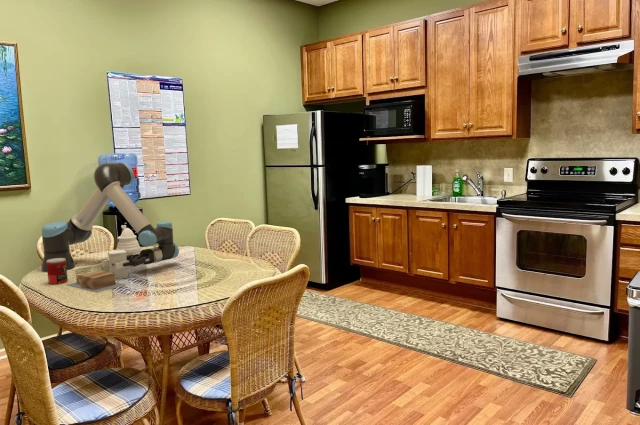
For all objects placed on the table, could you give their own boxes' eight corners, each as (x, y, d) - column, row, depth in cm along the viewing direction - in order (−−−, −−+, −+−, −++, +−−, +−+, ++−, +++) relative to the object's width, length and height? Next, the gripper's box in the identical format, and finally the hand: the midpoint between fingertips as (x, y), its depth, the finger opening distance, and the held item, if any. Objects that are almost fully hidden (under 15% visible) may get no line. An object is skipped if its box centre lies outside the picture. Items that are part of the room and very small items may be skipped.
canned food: (59, 286, 218) (57, 261, 217) (44, 285, 220) (42, 261, 219) (71, 281, 226) (69, 258, 224) (56, 281, 227) (54, 257, 226)
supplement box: (111, 280, 225) (109, 253, 224) (109, 277, 232) (107, 250, 230) (128, 278, 229) (126, 251, 227) (126, 275, 235) (124, 249, 234)
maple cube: (76, 283, 220) (75, 274, 219) (85, 281, 223) (84, 272, 222) (81, 284, 217) (80, 275, 217) (90, 282, 221) (89, 273, 220)
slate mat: (65, 286, 218) (65, 285, 217) (95, 279, 229) (95, 277, 229) (96, 294, 204) (96, 292, 204) (126, 286, 216) (126, 284, 215)
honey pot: (111, 259, 272) (109, 227, 269) (125, 254, 284) (123, 223, 282) (132, 260, 269) (130, 227, 267) (145, 255, 281) (143, 224, 279)
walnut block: (81, 286, 214) (80, 275, 213) (102, 281, 222) (101, 270, 222) (94, 289, 208) (93, 278, 208) (115, 284, 217) (114, 273, 216)
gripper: (136, 246, 250) (94, 254, 232) (164, 250, 237) (123, 259, 219) (137, 260, 251) (96, 270, 232) (165, 265, 238) (124, 276, 220)
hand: (109, 265), depth 226 cm, fingers closed on supplement box, 9 cm apart
